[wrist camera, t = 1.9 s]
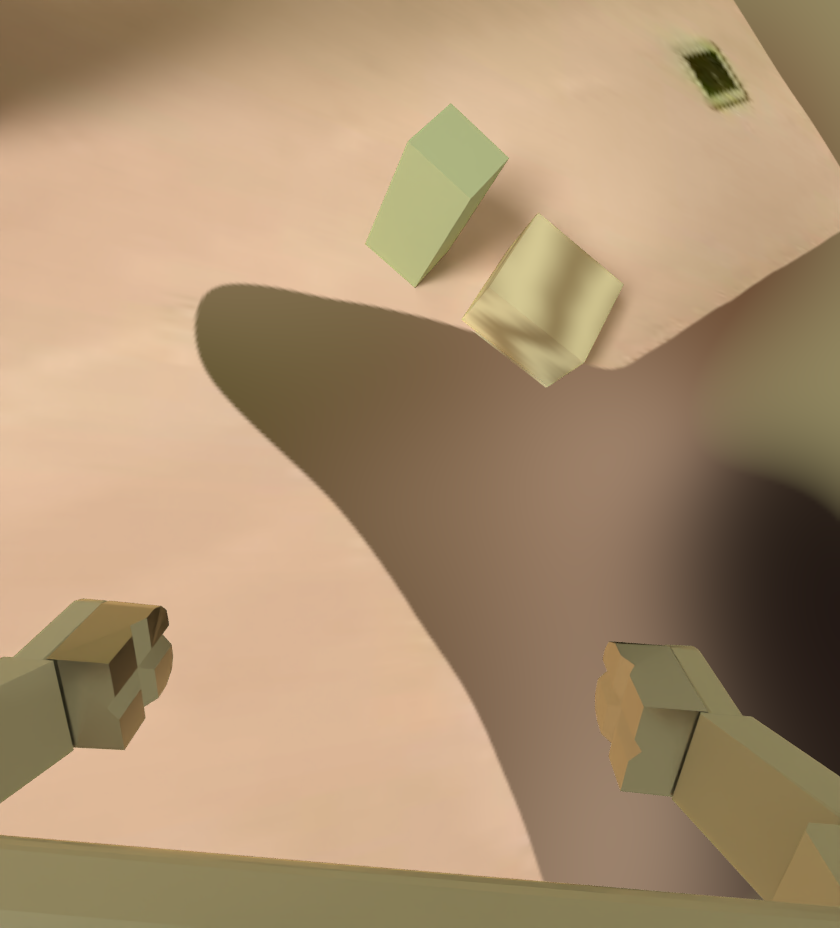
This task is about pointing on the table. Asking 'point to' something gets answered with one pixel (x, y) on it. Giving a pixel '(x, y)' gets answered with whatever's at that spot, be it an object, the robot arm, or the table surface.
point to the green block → (434, 193)
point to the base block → (544, 303)
